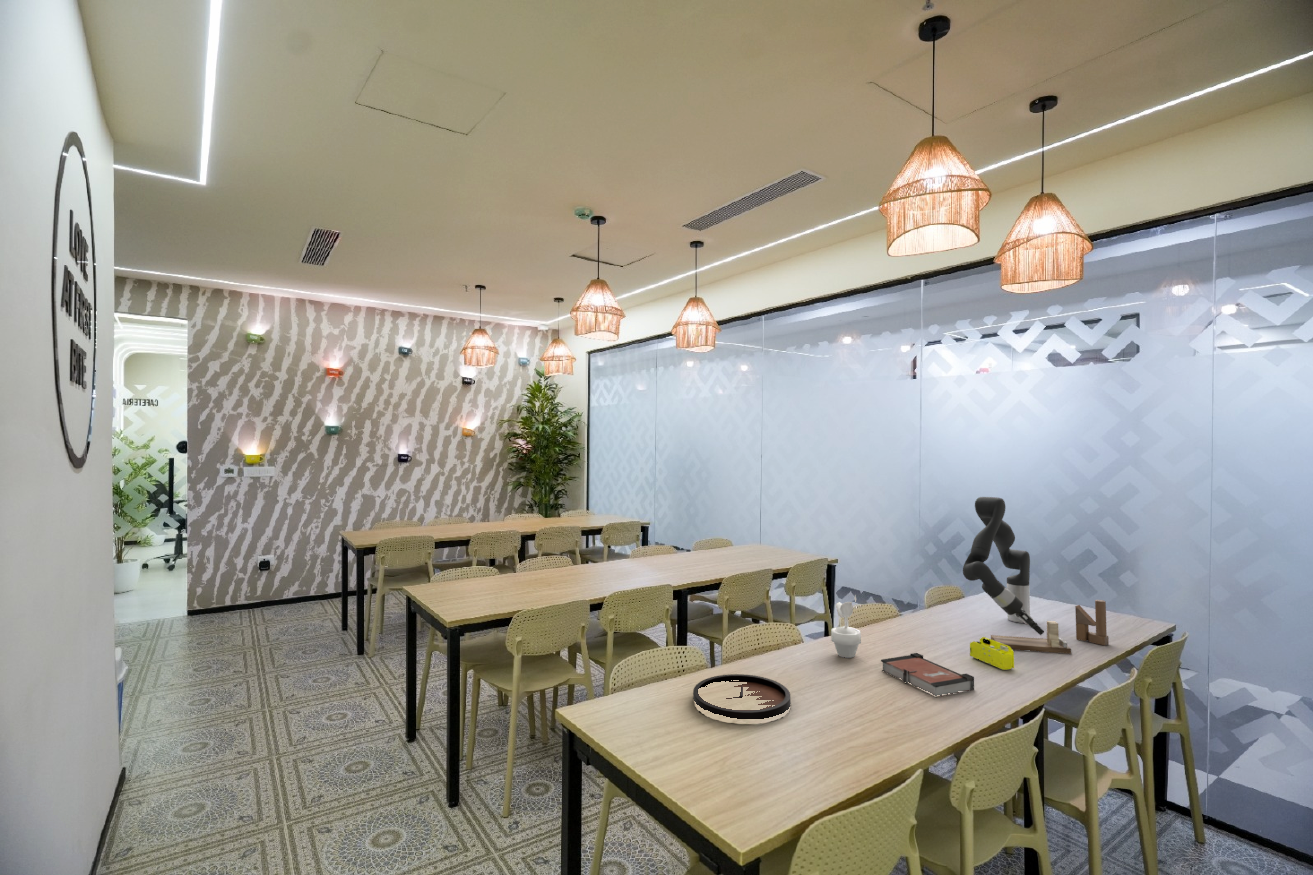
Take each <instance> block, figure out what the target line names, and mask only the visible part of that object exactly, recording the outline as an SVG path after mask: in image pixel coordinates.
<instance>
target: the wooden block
mask: <svg viewBox="0 0 1313 875" xmlns="http://www.w3.org/2000/svg"><path fill="white" fill-rule="evenodd" d="M1094 603H1095V604H1094V607H1095V611H1094V612H1095V619H1094V618H1092V617H1091V616H1090V614H1089V613H1087V611H1086V610H1085V609H1084V608H1083V607H1082V606H1081V605H1080V604H1079V605H1075V606H1074V607H1075V608H1074V609H1075V630H1076V631H1075V639H1076V640H1078V641H1083V642H1086V641H1087V642H1089V643H1091V644H1096V645H1100V646H1107V645H1109V642H1110V641H1109V640H1110V639H1109V635H1108V634H1107V603H1106V601H1105V600H1103V599H1095V601H1094ZM1089 626H1091V627H1095V632H1093V631H1089V629H1090V628H1089Z"/></svg>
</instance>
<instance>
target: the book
mask: <svg viewBox="0 0 1313 875" xmlns="http://www.w3.org/2000/svg"><path fill="white" fill-rule="evenodd" d="M880 662H882V669H881V670H882V671H881V672H883V671H884V672H883V673H885V674H887V673H888V674H887V675H889V674H891V675H892V676H891V675H890V676H891V677H893V676H894V677H893V678H895V677H896V678H895V679H897V678H901V679H902V680H903V681H902V682H903V683H904V682H906V683H908V682H909V683H911V684H912V685H913V686H915V687H919V688H921V689H923V690H925V691H928V692H930V693H932V694H933V695H935V696H937V695H940V696H941V697H943V696H942V694H947V695H946V696H949V695H948V693H950V694H951V695H954V694H953V693H957V694H960V693H959V692H958V691H967V692H972V691H975V676H973V675H970V674H968V673H962V674H961V673H960V672H956V671H954V670H953V669H950V668H948V667H944V666H942V665H940V664H938V663H935V662H933V661H930V660H928V659H926V658H924V655H923V654H920V653H918V652H914V653H913V652H912V653H910V654H908V655H902V656H896V657H895V656H894V657H889V658H882V659H880ZM906 683H905V684H906ZM913 686H912V687H913ZM915 687H914V688H915Z"/></svg>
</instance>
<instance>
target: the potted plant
mask: <svg viewBox="0 0 1313 875" xmlns="http://www.w3.org/2000/svg"><path fill="white" fill-rule="evenodd" d="M854 594H855V593H854ZM853 599H854V601H855V604H856V602H857V600H858V599H857V596H856V594H855V595H854V597H853ZM859 606H860V608H862V603H860V605H859ZM835 608H836V611H837V615H838V617H840V618H843V619H844V621H843V622H844V625H843V626H836V627H832V628H831V629H830V630H831V631H830V632H831V634H830V635H831V640H830V641H831V642H833V644H834V646H835V650H836V652H837V655H838V656H839V657H841V658H844V657H845V658H846V659H851V658H853V657H855V656H856V654H857V651H858V647H859V645H860V644H862V633H861V632H862V630H859V629H857V628H855V627H851V626H849V617H851V616H852V614H853V612H854V608H853V601H844V602H843V603H842V602H840V601H839V602H837V603H835ZM857 608H858V607H857V605H855V609H857ZM845 658H844V659H845Z"/></svg>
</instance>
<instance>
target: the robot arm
mask: <svg viewBox="0 0 1313 875" xmlns="http://www.w3.org/2000/svg"><path fill="white" fill-rule="evenodd" d="M974 509H975V512H976V514H977V516H978V518H979V519H980V520H981V522H982V524H983V525H984V527H983V528H982V529H981V530H980V531H979V532H978V533H977V534H976V535H975V537H974V538H973V542H972V545H971V549H970V552H969V554H968V556H967V557H966V560H965V562H964V564H963V566H962V575H963V576H964V578H965V579H966V580H968V581H969V582H971V581H973V582H974V581H978V580H980V581H981V582H982V584H981V589H982V590H983V592H985V593H986V594H987V596H989V598H991V599H992V600H993V601H994V603H995V604H996V605H997V606H999V607H1000V608H1001V609H1002V610H1003V611H1004V612H1005V613H1006V614H1007V620H1008V621H1011V622H1012V623H1013V622H1014V623H1020V624H1021V623H1022V624H1023V623H1024V624H1025V625H1027V626H1029V627H1030V628H1031V629H1033V630H1034V631H1035V632H1036V633H1037V634H1039V635H1040V636H1042V635H1043V634H1044V633H1045V630H1043V629H1042V627H1040V625H1038V623H1037V622H1035V621H1034V618H1033V617H1032V616H1031V602H1030V600H1031V597H1030V596H1031V595H1030V594H1031V592H1030V572H1031V570H1030V569H1031V568H1030V567H1031V557H1030V553H1029V552H1028V551H1027V550H1020V549H1013V548H1011V547H1012V546H1013V544H1014V543H1015V540H1016V535H1015V533H1014V531H1013V529H1012V527H1011V526H1010V524H1009V523H1007V522H1006V521H1004V520H1003V519H1004V516H1005V513H1006V503H1005V500H1004V499H1003V498H1001V497H992V496H980V497H978V498H977V499H976V500H975V501H974ZM993 542H994V544H995V547H996V548H997V551H998V553H999V555H1000V559H1001V561H1002V564H1003V565H1004V567H1005V568H1007V569H1009V570H1010V569H1012V570H1016V571H1017V570H1019V573H1018V574H1014V575H1009V576H1007V577H1006V586H1005V585H1003V583H1002V582H1000V581H999V580H998V579H997V577H996V576H995V574H994V572H993V571H992V570H991V568H990V567H989V566H988V565H987V564H986V563H985V562H986V561H987V560H988V559H989V557H990V553H991V549H992V545H993Z"/></svg>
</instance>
